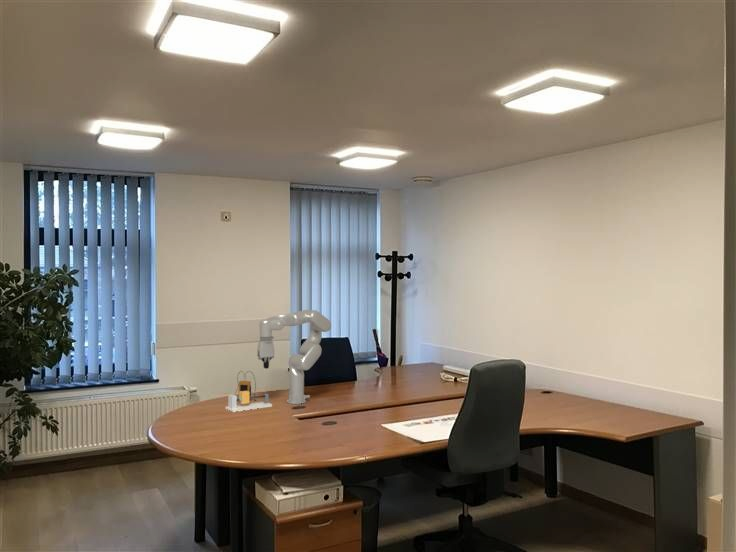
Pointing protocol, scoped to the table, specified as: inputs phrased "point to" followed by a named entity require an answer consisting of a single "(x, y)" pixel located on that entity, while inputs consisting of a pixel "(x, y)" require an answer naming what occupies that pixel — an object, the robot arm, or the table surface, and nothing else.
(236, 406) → the board
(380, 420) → the table surface
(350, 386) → the table surface
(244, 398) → the sleeve
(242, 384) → the multimeter
